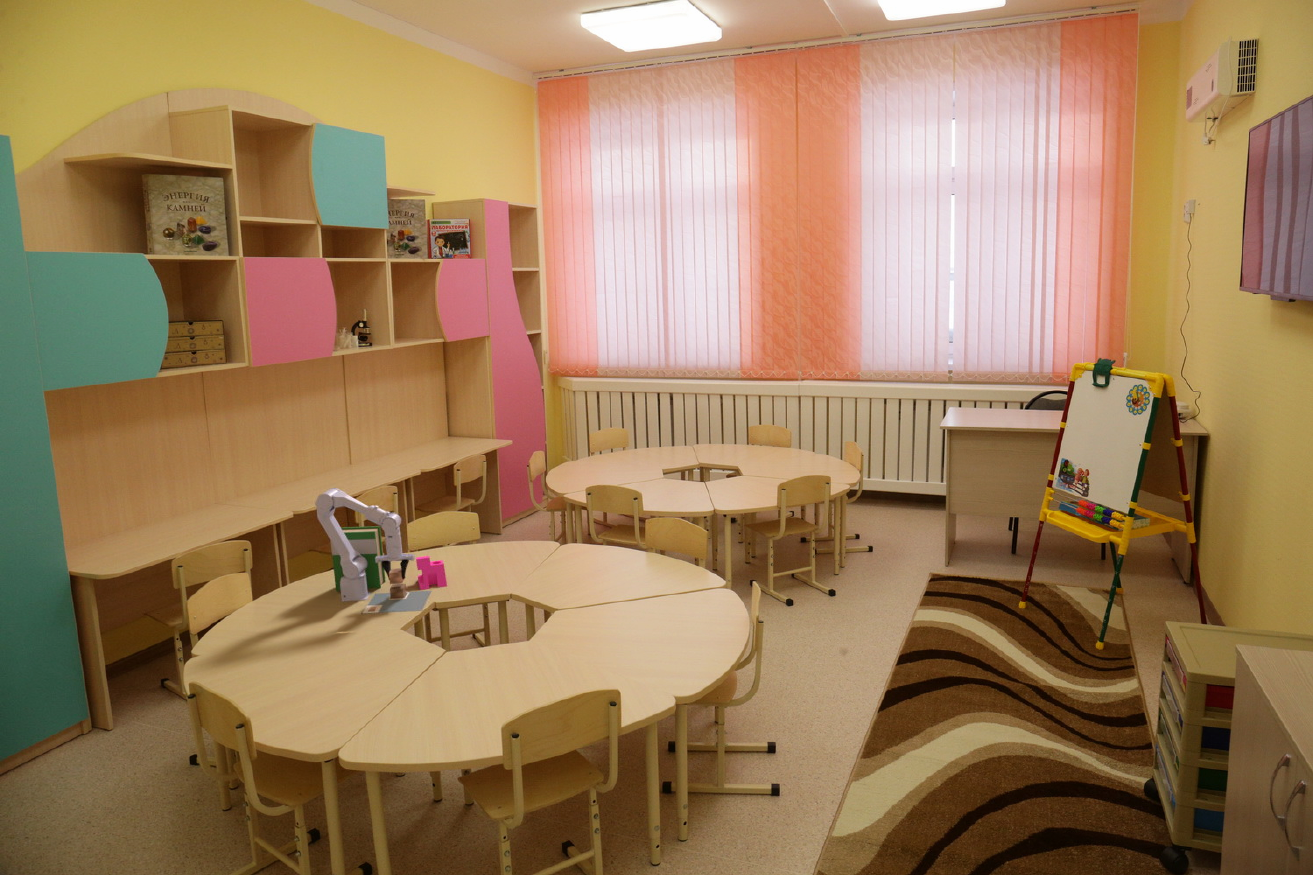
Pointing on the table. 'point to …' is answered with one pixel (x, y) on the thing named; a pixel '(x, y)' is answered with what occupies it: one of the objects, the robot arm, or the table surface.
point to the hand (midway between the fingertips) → (397, 578)
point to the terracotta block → (395, 576)
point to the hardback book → (362, 554)
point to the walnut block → (398, 591)
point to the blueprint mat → (397, 602)
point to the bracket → (430, 572)
